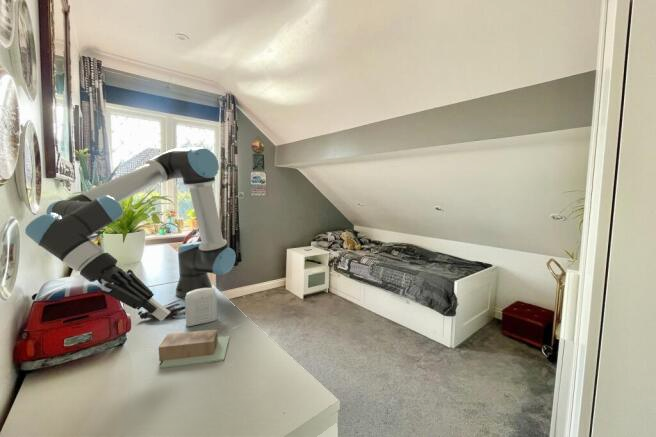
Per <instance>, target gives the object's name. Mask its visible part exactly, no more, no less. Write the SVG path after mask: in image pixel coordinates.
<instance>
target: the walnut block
mask: <svg viewBox="0 0 656 437" xmlns="http://www.w3.org/2000/svg"><path fill="white" fill-rule="evenodd" d="M218 333H219V332H218V329H216V328H215V329H206V330H204V329H203V330H194V331H185V332H184V331H183V332H175V333H174V332H173V333H168V334H166V336H165V337H164V338H163V340H162V341H161V343H160V344H159V346H158V361H159V362H163V361H165V360H173V359H181V358H190V357H198V356H207V355H214V352H215V349H216V346H217V343H218V337H219V334H218Z"/></svg>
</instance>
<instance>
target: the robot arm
mask: <svg viewBox="0 0 656 437" xmlns="http://www.w3.org/2000/svg"><path fill="white" fill-rule="evenodd" d="M219 169H220V164H219V160H218V159H217V156H216V155H215V154H214V153H213V151H211V150H210V149H208V148H205V147H197V146H195V147H194V146H193V147H184V148H173V149H170V150H168V151H165V152H163V153H160V154H159V155H156V156H154V157H153V158H152V157H151V158H150V159H148V160H146V162H145V164H144V165H142V166H140V167H137V168H135V169H133V170H131V171H128V172H126V173H124V174H121V175H119V176H118V177H115V178H113V179H111V180H109V181H108V180H107V181H105V182H104V183H102V184H100V185H97V186H95V187H93V188H90V189H89V190H87V191H85V192H84V191H83V192H82V193H79V194H78V195H75V196H72V197H71V198H68V199H64V200H63V199H62V200H57V201H54V202H52V203H50V204H49V205H48V207H47V209H46V213H45V214H41V215H40V216H38V217H36V218H34V219H33V220H32V221H30V222H29V223H28V224H27V225H26V227H25V231H24V232H25V234H26V235H27V237H28V238H30V239H31V240H32V241H33V242H34V243H36V244H37V245H38V246H39V247H41V248H43V250H46V251H47V252H48V253H50V254H51V255H53V256H54V257H56V258H57V259H59V260H60V261H62V262H63V263H64V264H65V265H67V266H68V267H69V268H71V269H72V270H73V271H75V272H79V275H80V276H81V277H83V278H84V279H86V280H87V281H89V282H90V283H93V282H98V284H99V285H101V287H100V288H99V289H98V292H100V293H101V294H104V295H108V296H110V297H111V298H113V299H115V300H118V301H119V302H121V303H122V304H124V305H127V306H128V307H131V308H132V309H135V310H138V311H139V310H140V309H141V308H143V309H144V310H145V311H147V312H149V313H151V314H152V315H154V316H155V317H156V318H157V319H158V320H159V321H160V322H163V320H164V319H165V317H166V316H167V315H168V314H169V313H170V311H169V310H167V309H166V308H165V307H166V306H165V307H163V306H164V305H162V304H161V303H159V302H158V301H157V300H156V299H154V298H152V297H153V296H154V295H155V294H154V293H153V291H152V290H151V289H150V288H149V287H148V286H147V285H145V283H144V282H143V281H141V279H139V278H138V276H137V275H136V274H135V273H134V271H133V270H132V269H128V270H125V271H124V270H123V269H122V268H121V267H119V266H117V265H116V264H117V263H118V259H117V258H115V257H114V256H113V255H111V254H110V253H109V252H105V249H104V248H103V247H101V246H100V245H98V244H97V243H96V242H94V241H93V240H92V239H91V238H89V237H92V235H93V236H94V234H96V233H97V232H100V231H101V230H102V229H104V228H106V227H107V226H110V225H111V224H112V223H115V222H116V221H117V220H119V219H120V218H121V217H123V215H124V209H123V206H122V205H121V204H120V203H121V202H124V201H125V200H127V199H129V198H132V197H133V196H135V195H136V194H138V193H141V192H142V191H144V190H146V189H148V188H150V187H152V186H155V185H156V184H157V183H166V182H167V181H170V180H173V179H182V182H183V185H185V187H187V188H188V189H189V194H190V197H191V200H192V201H191V202H192V206H193V212H194V216H195V220H196V224H197V229H198V232H199V236H200V241H194V242H187V243H183V244H181V245H179V247H178V250H177V252H178V253H177V257H178V273H179V276H178V281H177V283H176V288H175V296H177V297H178V298H185V297H186V293H188V292H190V291H193V290H196V289H200V288H213V284H212V281H211V279H210V277H209V274H213V275H226V274H227V273H229V272H230V271H231V270H232V269H233V267H234V265H235V263H236V257H237V256H236V251H235V249H232V248H231V247H229V244H228V240H227V239H225V238H223V233H222V228H221V223H220V217H219V213H218V208H217V202H216V197H215V194H214V188H213V184H214V183H215V182H216V178H215V177H216V176H217V175H218V173H219V172H218V171H219ZM208 273H209V274H208Z"/></svg>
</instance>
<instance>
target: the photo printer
mask: <svg viewBox="0 0 656 437" xmlns="http://www.w3.org/2000/svg"><path fill="white" fill-rule="evenodd" d="M184 298H185V299H184V306H185V309H184V311H185V313H184V314H185V326H186V327H192V326H193V327H194V326H197V325H201V324H207V323H210V322H214V321H217V318H218V316H217V315H218V314H217V313H218V310H217V309H218V308H217V292H216V289H215V288H213V287H212V288H200V289H196V290H193V291H190V292H188V293H186V297H184Z"/></svg>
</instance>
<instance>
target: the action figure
mask: <svg viewBox="0 0 656 437" xmlns="http://www.w3.org/2000/svg"><path fill="white" fill-rule="evenodd" d="M180 301H181V299H178V300H175V301H172V302H170V303H168V304H165V305H162V306H163V307H165V308H166V309H167V310H169V311H170V313H169V314H168V315H167V316H166V317H165V318H164V319H165V320H174V319H175V320H176V317H179V316H181V315H184V314H185V305H182V306H180V305H181V304H180V303H179V302H180ZM178 306H179V307H178ZM137 315H138V316H139V318H140V319H142V320H143V319H144V320H146V319H151V320H152V319H153V320H155V318H156V317H155V316H154V315H152V314H151V313H149V312H148V311H147V310H145V311H144V312H143V311H142V310H140V311H139V312H137Z"/></svg>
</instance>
